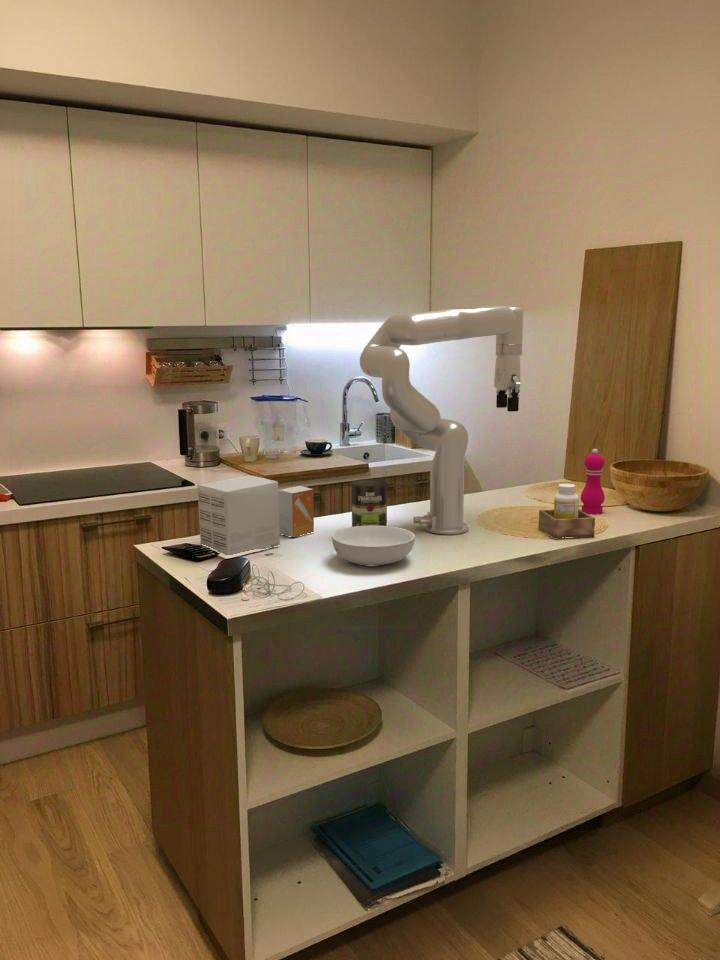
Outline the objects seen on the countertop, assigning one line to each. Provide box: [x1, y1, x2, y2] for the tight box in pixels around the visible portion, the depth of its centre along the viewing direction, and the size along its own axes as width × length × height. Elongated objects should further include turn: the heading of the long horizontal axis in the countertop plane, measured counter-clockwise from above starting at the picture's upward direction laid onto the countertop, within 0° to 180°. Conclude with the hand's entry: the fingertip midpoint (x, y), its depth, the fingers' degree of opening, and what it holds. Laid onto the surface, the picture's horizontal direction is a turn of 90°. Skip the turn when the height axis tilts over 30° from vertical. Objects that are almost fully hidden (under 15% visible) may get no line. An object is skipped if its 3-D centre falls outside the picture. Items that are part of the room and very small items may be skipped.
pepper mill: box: [580, 448, 606, 515], centre depth 249 cm, size 7×7×20 cm
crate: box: [538, 508, 596, 539], centre depth 227 cm, size 12×12×6 cm
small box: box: [278, 485, 315, 538], centre depth 227 cm, size 8×6×13 cm
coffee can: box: [350, 478, 388, 527], centre depth 230 cm, size 10×10×14 cm
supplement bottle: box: [553, 483, 580, 519], centre depth 226 cm, size 7×7×13 cm
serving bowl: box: [331, 525, 416, 566], centre depth 202 cm, size 21×21×7 cm
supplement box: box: [196, 474, 281, 555], centre depth 213 cm, size 17×13×18 cm
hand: (507, 409), depth 236 cm, fingers open, 9 cm apart
